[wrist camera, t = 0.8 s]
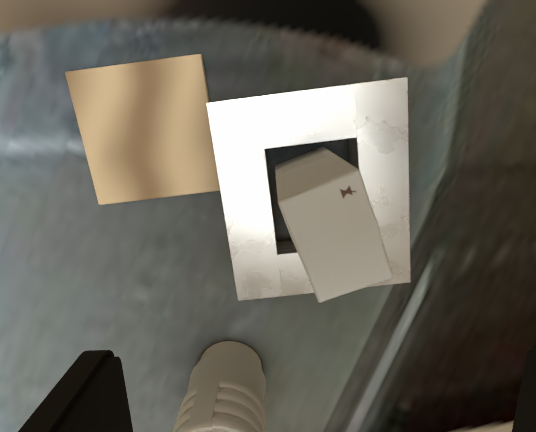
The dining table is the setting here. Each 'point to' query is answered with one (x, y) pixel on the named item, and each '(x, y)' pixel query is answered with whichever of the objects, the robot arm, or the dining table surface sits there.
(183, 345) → the dining table surface
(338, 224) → the skincare box
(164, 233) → the dining table surface
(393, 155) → the white rectangular frame
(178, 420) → the white ribbed canister
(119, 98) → the wooden coaster
